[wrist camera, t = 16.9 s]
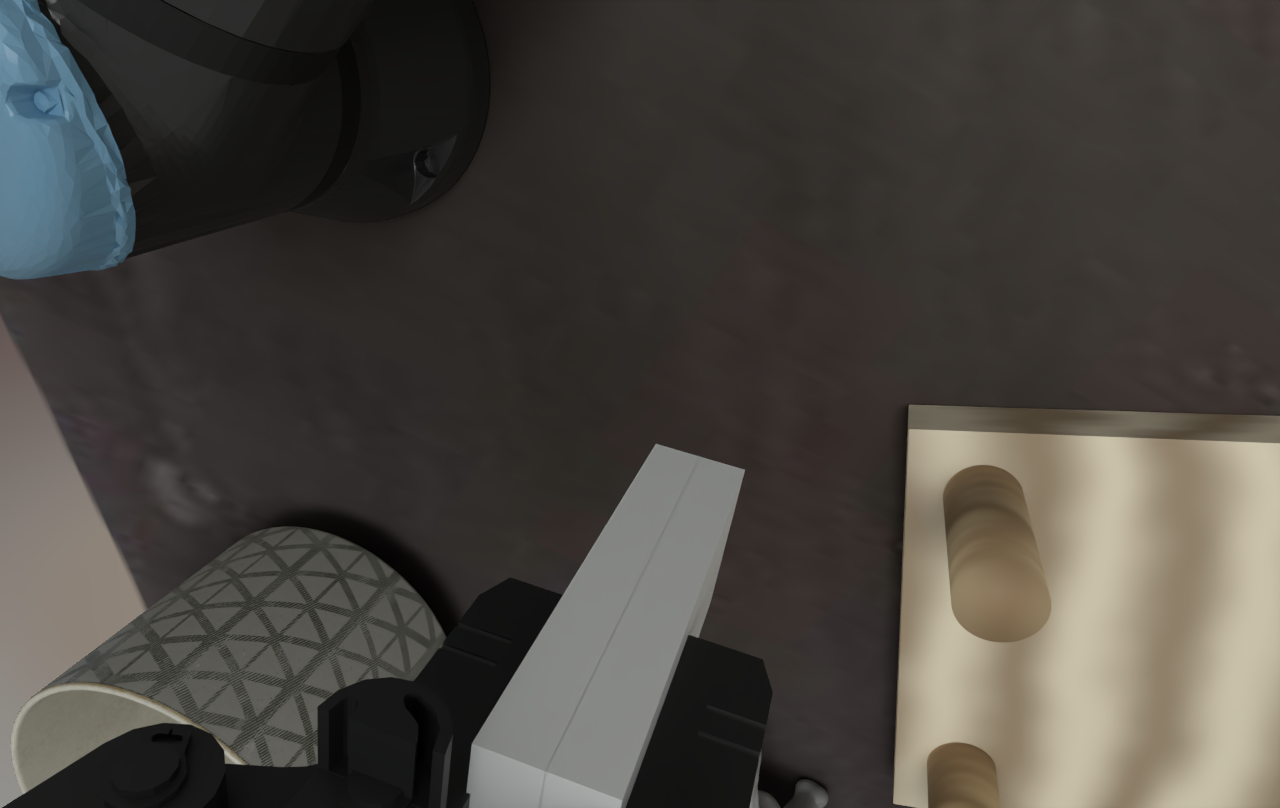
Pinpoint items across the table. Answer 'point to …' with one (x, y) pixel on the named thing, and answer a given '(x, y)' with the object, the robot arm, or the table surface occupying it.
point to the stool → (1089, 610)
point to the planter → (238, 655)
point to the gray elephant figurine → (803, 804)
